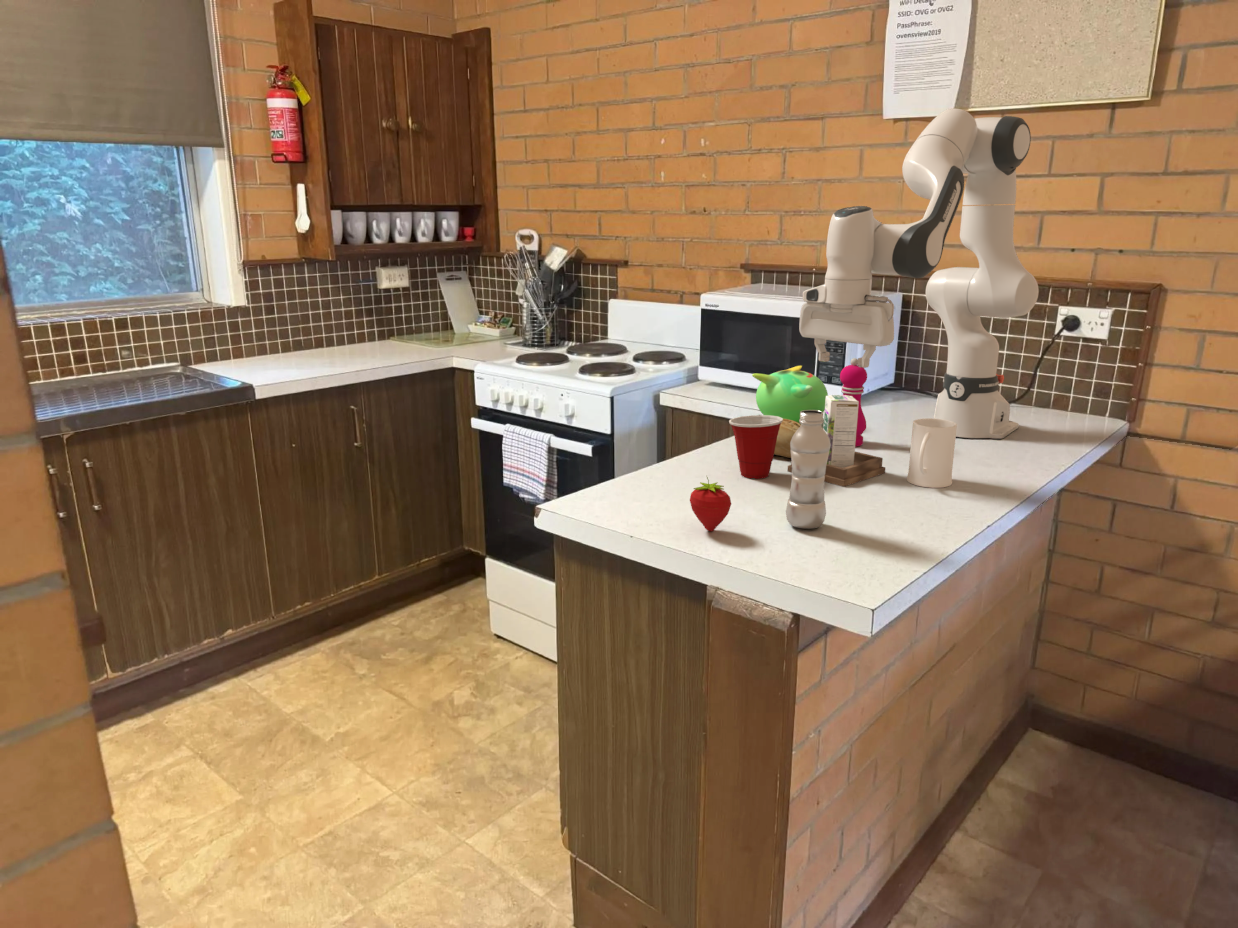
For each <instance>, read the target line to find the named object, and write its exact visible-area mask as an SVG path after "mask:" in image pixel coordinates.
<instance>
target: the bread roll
mask: <svg viewBox="0 0 1238 928" xmlns="http://www.w3.org/2000/svg"><path fill="white" fill-rule="evenodd" d="M800 426H801V425H800V424H799V423H798V422H795V421H793V420H789V419H783V421H782V423H781V425H780V428H779V432H778V436H777V440H776V446H775V451H774V455H776V456H781V457H785V458H789V459H791V448H790V442H791V439H792V437H793V435H794V434H795V432H796V431H797V430H798V429H799V427H800Z"/></svg>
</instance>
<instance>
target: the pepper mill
mask: <svg viewBox="0 0 1238 928" xmlns="http://www.w3.org/2000/svg"><path fill="white" fill-rule="evenodd" d="M849 363H850V364H849V365H846V366H844V367H843V368H842V370H841V371H840V374H839V380H840V382H841V383H842V386H841V393H842V395H847V396H852V397H853V398H855V399H856V400H857V401H859V406H858V418H857V430H856V441H855V448H856V447H860V446H863V444H864V436H863V433H865V431H866V430H867V421H866V419H867V418H866V417H865V414H864V411H863V409H862V404H861V403H862V394H864V393H865V391H864V390H865V386H864V384H865V383H866V382H867V380H868V372H867V370H866V369H865V368H863V367H858V358H857V357H853V358H852V359H850V362H849Z"/></svg>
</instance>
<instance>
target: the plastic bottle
mask: <svg viewBox="0 0 1238 928" xmlns="http://www.w3.org/2000/svg"><path fill="white" fill-rule="evenodd" d="M799 423H800V424H801V426H800V427H799V429H798V430H797V431H796V432H795V434H794V435H793V437H792V439H791V442H790V448H791V458H790V460H791V461H792V472H791V483H790V491H789V496H788V500H787V504H786V509H785V515H786V521H787V522H788V523H789V525H790V526H792V527H794V528H798V529H802V530H803V529H806V530H807V529H810V530H811V529H812V530H813V529H816V528H819V527H821V526H822V525H823V524H824V522H825V520H826V516H827V510H826V509H827V507H826V501H825V482H824V480H825V472H826V465H827V460H828V456H829V450H830V445H831V444H830V439H829V437H828V435H827V434H826V432H825V431H824V429H823V424H824V412H822V411H818V410H803V411H801V412H800V419H799Z"/></svg>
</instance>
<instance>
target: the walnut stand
mask: <svg viewBox="0 0 1238 928" xmlns="http://www.w3.org/2000/svg"><path fill="white" fill-rule="evenodd" d="M883 460H884V459H883V457H880V456H877V455H871V454H868V453H862V452H859V451H855V454H854V465H851V466H848V467H845V468H841V467H837V466H833V465H829V464H827V465H826V472H825V480H824V483H829V484H832V485H836V486H839V487H843V488H844V487H847V486H850V485H854V484H856V483H859V482H862V481H865V480H868V479H871V478H875V477H878V476H880V475H884V474H885V473H886V467H885V466H883ZM790 463H791V464H789V465H787V472H790V473H792V461H791V462H790Z"/></svg>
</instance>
